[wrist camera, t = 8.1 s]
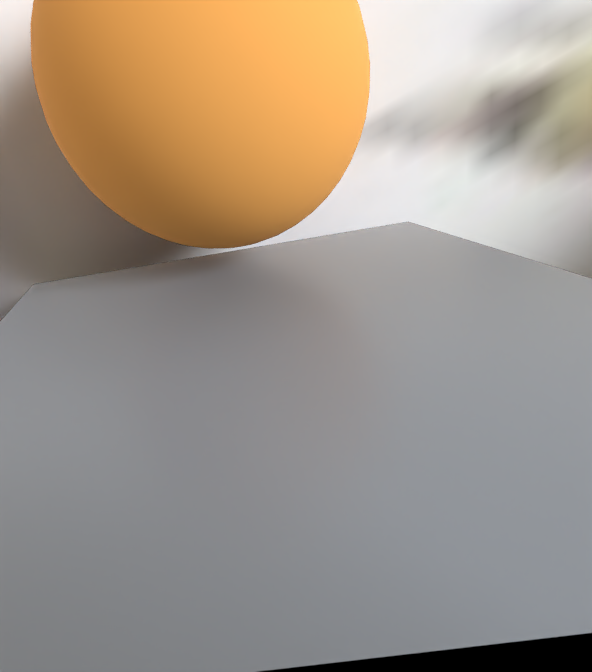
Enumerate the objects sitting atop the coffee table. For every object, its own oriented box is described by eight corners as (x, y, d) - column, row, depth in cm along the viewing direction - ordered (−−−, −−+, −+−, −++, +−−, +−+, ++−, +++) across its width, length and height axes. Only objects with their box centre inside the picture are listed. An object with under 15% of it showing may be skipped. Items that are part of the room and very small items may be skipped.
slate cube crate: (408, 221, 10) (1250, 482, 2) (409, 490, 13) (768, 985, 5) (33, 284, 9) (-1241, 1704, 1) (135, 571, 12) (89, 1424, 4)
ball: (342, 240, 10) (299, 10, 10) (463, 181, 6) (392, -276, 5) (115, 282, 10) (56, 31, 9) (24, 255, 5) (-116, -291, 4)
